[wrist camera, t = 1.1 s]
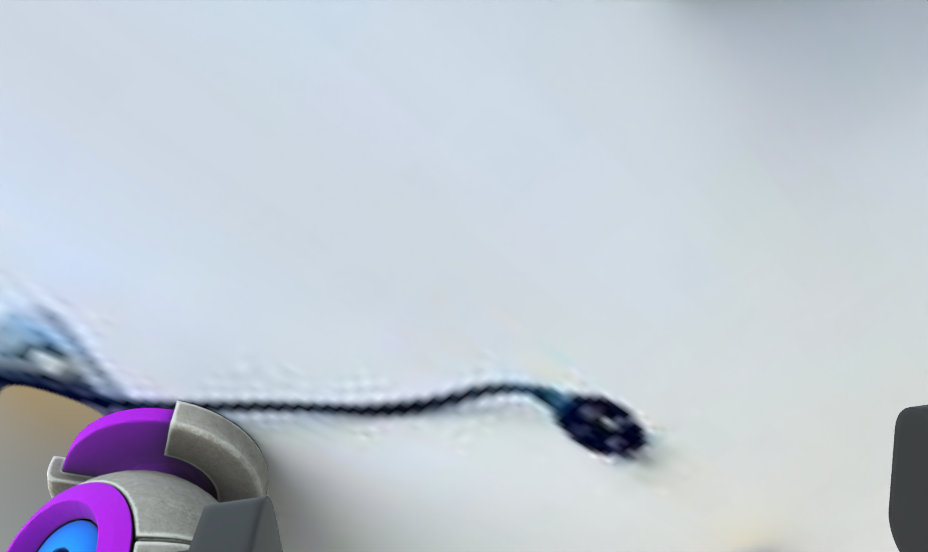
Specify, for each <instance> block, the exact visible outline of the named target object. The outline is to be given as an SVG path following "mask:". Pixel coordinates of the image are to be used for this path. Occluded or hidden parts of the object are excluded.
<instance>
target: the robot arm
mask: <svg viewBox="0 0 928 552" xmlns="http://www.w3.org/2000/svg"><path fill="white" fill-rule="evenodd" d="M889 523H890V528H891V532H892V535H893V538H894V541H895V543H896V545H897V548H898V550H899V551H900V552H928V405H923V406H916V407H909V408H906V409H904V410H902V412H901V413H900V414H899V416H898V418H897V421H896V425H895V435H894V448H893V461H892V474H891V487H890V501H889ZM178 552H283V550H282V545H281V540H280V535H279V530H278V525H277V520H276V515H275V511H274V507H273V504H272V501H271V500H270V498H269V497H268V496H265V497H258V498H251V499H243V500H236V501H229V502H222V503H215V504H208V505H206V506H205V507H204V509H203V511H202V514H201V517H200V519H199V522H198V525H197V528H196V531H195V533H194V536H193V539H192V542H191V544H190V547H189V550H185V551H178Z"/></svg>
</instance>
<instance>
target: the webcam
mask: <svg viewBox="0 0 928 552" xmlns="http://www.w3.org/2000/svg"><path fill="white" fill-rule="evenodd" d="M47 479H48V488H49V491H50V494H51V498H52V499H51V500H50V501H49V502H47V503H46V504H45V505H44V506H43V507H41V508H40V509H39V510H38V512H36V513H35V515H33V516H32V517H31V519H30V520H29V521H28V522H27V523H26V524H25V525H24V526H23V528H22V529H21V530H20V532H19V533H18V534H17V536H16V537H15V538H14V540H13V542H12V543H11V545H10V546H9V548H8V550H7V552H178V551H185V550H189V547H190V544H191V542H192V539H193V536H194V533H195V531H196V528H197V525H198V522H199V519H200V517H201V514H202V511H203V509H204V507H205V506H206V505H208V504H215V503H222V502H229V501H236V500H243V499H251V498H258V497H265V496H266V492H267V485H268V470H267V466H266V462H265V460H264V458H263V455H262V453H261V451H260V450H259V448H258V447H257V445H256V444H255V442H254V441H253V440H252V439H251V438H250V437H249V436H248V435H247V434H246V433H245V432H244V431H243V430H242V429H240V428H239V427H238V426H237V425H235V424H234V423H232V422H231V421H229V420H227V419H226V418H224V417H222V416H220V415H218V414H216V413H214V412H212V411H210V410H207V409H204V408H202V407H199V406H196V405H193V404H189V403H185V402H181V401H177V404H176V407H175V410H171V409H161V408H137V409H129V410H124V411H119V412H115V413H112V414H109V415H107V416H104V417H102V418H99V419H98V420H96V421H95V422H93V423H91V424H90V425H88V426H87V427H86V428H85V429H84V430H82V431H81V432H80V433H79V434H78V436H77V437H76V438H75V440H74V442H73V444H72V445H71V447H70V450H69V452H68V454H67V457H60V456H53V459H52V460H51V463H50V465H49V468H48V471H47Z"/></svg>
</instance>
